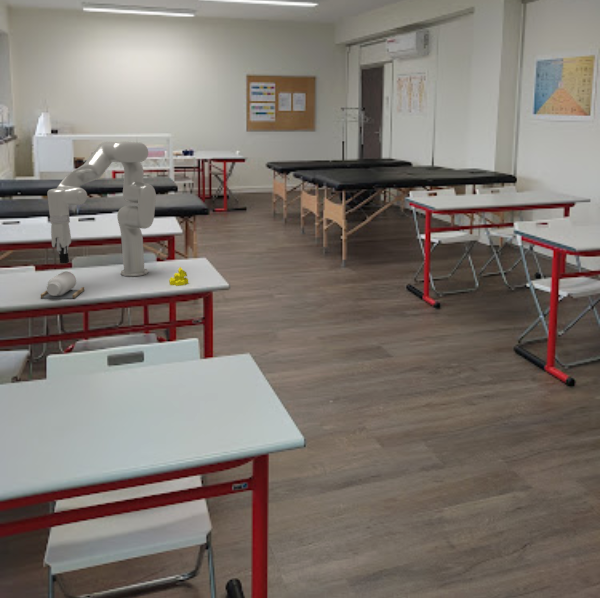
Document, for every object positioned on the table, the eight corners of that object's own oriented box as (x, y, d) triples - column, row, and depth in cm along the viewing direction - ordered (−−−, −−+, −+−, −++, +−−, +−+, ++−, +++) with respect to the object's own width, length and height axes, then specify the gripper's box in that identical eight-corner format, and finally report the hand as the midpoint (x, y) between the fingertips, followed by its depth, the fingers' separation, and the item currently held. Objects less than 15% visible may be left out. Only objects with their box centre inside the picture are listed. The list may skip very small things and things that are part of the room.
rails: (52, 290, 290) (51, 286, 290) (84, 291, 290) (84, 287, 289) (40, 298, 279) (40, 294, 278) (74, 299, 278) (74, 294, 278)
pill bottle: (77, 290, 291) (62, 299, 276) (58, 287, 291) (42, 297, 277) (77, 272, 289) (62, 281, 274) (58, 269, 289) (42, 278, 275)
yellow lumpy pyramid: (168, 283, 302) (167, 266, 300) (186, 281, 305) (185, 264, 303) (171, 286, 297) (170, 269, 295) (189, 284, 300) (188, 267, 298)
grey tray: (52, 290, 290) (52, 289, 290) (84, 291, 290) (84, 289, 290) (40, 298, 279) (40, 297, 279) (74, 299, 278) (74, 297, 278)
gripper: (57, 216, 287) (62, 258, 293) (43, 222, 273) (48, 267, 278) (75, 216, 287) (79, 258, 292) (62, 222, 273) (67, 267, 278)
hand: (64, 262), depth 285 cm, fingers closed
